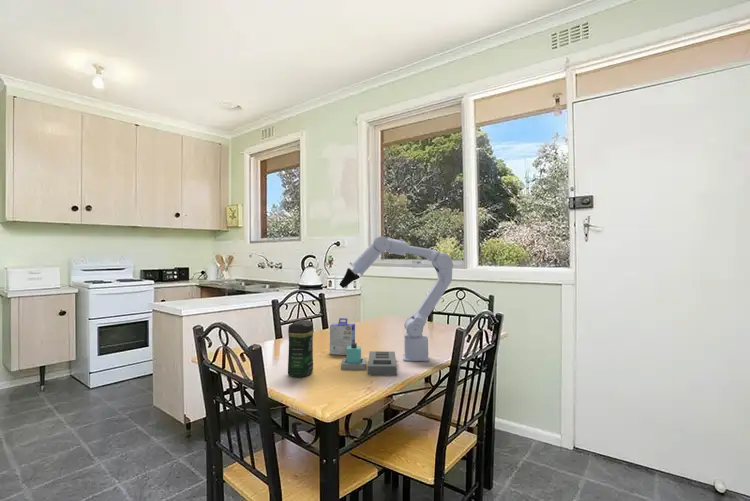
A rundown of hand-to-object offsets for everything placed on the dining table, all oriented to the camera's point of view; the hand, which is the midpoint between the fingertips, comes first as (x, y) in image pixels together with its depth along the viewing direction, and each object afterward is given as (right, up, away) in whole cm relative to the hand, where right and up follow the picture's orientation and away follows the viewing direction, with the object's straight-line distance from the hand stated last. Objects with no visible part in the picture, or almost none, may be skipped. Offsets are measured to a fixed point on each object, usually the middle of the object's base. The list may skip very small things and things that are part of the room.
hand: (342, 285), depth 159 cm
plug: (+5, -29, -9) cm, 31 cm away
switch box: (+16, -29, -9) cm, 34 cm away
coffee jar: (-13, -29, -18) cm, 37 cm away
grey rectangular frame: (+5, -29, -9) cm, 31 cm away
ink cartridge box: (-1, -29, +9) cm, 31 cm away
